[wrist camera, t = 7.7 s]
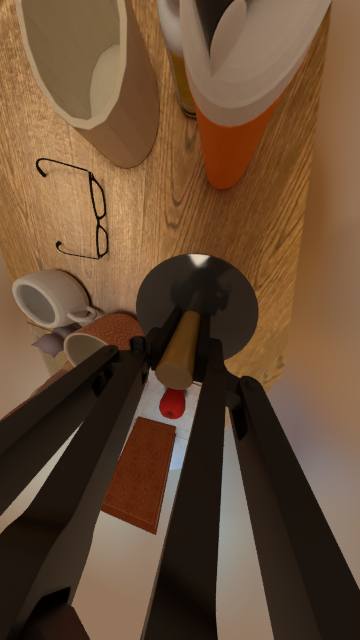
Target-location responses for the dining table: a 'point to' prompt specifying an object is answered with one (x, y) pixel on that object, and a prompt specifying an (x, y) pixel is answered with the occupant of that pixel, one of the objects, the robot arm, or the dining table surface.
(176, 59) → the pill bottle
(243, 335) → the lid
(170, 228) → the dining table surface
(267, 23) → the shaker bottle
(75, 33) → the pot
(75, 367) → the robot arm
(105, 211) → the eyeglasses
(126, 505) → the book
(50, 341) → the cat figurine
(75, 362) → the planter
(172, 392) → the apple
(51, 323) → the mug
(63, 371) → the vase
